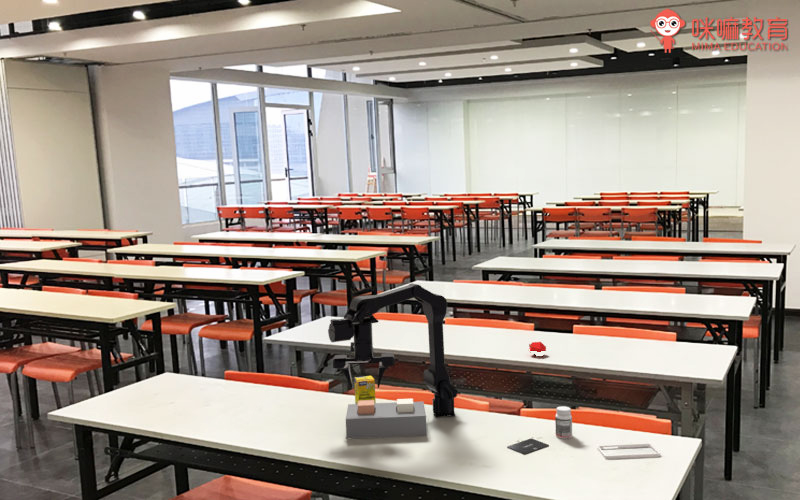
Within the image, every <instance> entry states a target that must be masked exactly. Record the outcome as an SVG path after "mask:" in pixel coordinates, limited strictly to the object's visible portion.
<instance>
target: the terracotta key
mask: <svg viewBox="0 0 800 500" xmlns="http://www.w3.org/2000/svg"><path fill="white" fill-rule="evenodd" d="M371 413H375V403H374V400H362V401H358V414H371Z"/></svg>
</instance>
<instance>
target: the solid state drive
mask: <svg viewBox="0 0 800 500" xmlns="http://www.w3.org/2000/svg"><path fill="white" fill-rule="evenodd" d="M547 447H550V445H549V444H547V443H545V442H543V441H539V440H538V439H534V438H528V439H525V440H521V441H518V442H516V443H514V444H511V445H508V446H506V448H507V449H509V450H511V451H513V452H516V453H518V454H522V455H528V454H531V453H533V452H537V451H539V450H543V449H545V448H547Z"/></svg>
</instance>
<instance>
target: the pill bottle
mask: <svg viewBox="0 0 800 500" xmlns="http://www.w3.org/2000/svg"><path fill="white" fill-rule="evenodd" d="M571 411H572V410H571V408H570V407H569V406H566V405H565V406H557V407H556V414H555V418H554V419H555V421H554V422H555V437H557V438H559V439H565V440H568V439H571V438H572V437H573V416H572V414H571V413H572V412H571Z"/></svg>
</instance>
